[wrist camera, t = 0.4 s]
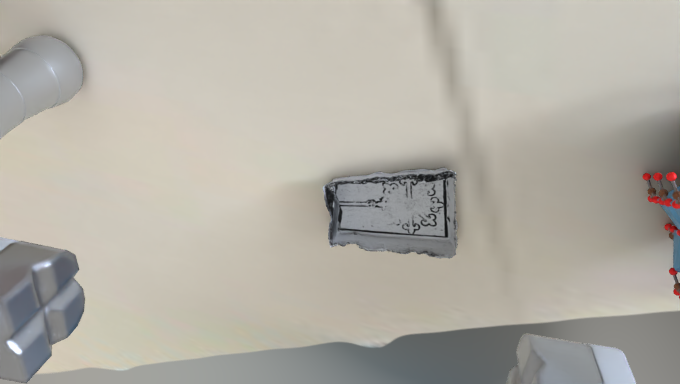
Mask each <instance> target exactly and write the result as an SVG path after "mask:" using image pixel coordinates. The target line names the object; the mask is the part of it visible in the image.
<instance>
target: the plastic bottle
mask: <svg viewBox="0 0 680 384" xmlns="http://www.w3.org/2000/svg"><path fill="white" fill-rule="evenodd" d="M82 82H83V69H82V65H81V62H80V60H79V58H78V56H77V55H76V53H75V52H74V51H73V50H72V49H71V48H70V47H69V46H68V45H67V44H65V43H64V42H62V41H60V40H58V39H56V38H54V37H51V36H46V35H40V36H34V37H29V38H25V39H23V40H21V41H20V42H19V43H17V44H16V45H14V46H13V47H12V48H11V49H10V50H9V51H8V52H7V53H5V54H4V55H2V56H1V57H0V139H1V138H2V137H3V136H4V135H6V134H7V133H8V132H9V131H11V130H12V129H13V128H15V127H16V126H17V125H19V124H20V123H22V122H23V121H24V120H26V119H28V118H30V117H32V116H34V115H36V114H38V113H40V112H42V111H44V110H46V109H49V108H53V107H56V106H59V105H61V104H63V103H66V102H68V101H69V100H71V99H72V98H73V97H74V96H75V94H76V93H77V92H78V91H79V90H80V88H81V86H82Z"/></svg>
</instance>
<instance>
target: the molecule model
mask: <svg viewBox="0 0 680 384" xmlns="http://www.w3.org/2000/svg"><path fill="white" fill-rule="evenodd" d="M650 178H651V175H650V174H649V173H645V174H644V175H643V179H644V180H647V183H648V186H649V189H648V194H649V195H650V196H648V201H649V202H654V203H659V204H660V205H661V207H662V208H663V209H664V211H665V212H666V213H667V215H668V216H669V217H670V219H671V220H672V221H673V223H674V224H675V225H676V226H672V225H671V224H666V225H665V226H664V227H665V229H666V230H669V232H670V233H669V237H670V238H671V239H673V241H674V252H673V268H671V269H670V270H669V273H670V274H671V275H673V277H674V280H675V283H676V284H675V285H674V288H675V289H674V291H673V292H674V294H675V295H680V283H678V280H677V277H676V274H677V273H678V272H680V186H679V187H677V186H676V183H675V180H676V178H677V175H676V174H675V173H674V172H670V173H668V174H667V175H666V178H667V180H669V181H671V182H672V185H673V188H674V190H672V191H670V192H669V193H668V191H667V190H665V189H663V186H662V183H661V179H662V174H661V173H655V174H654V175H653V178H654V180H656V181H658V184H659V187H660V191H659V193H658V194H659V196H660V197H658V196H656V195H655V194H656V190H655V189H654V188H652V186H651V183H650V180H649V179H650ZM679 298H680V296H679Z"/></svg>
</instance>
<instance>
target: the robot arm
mask: <svg viewBox="0 0 680 384" xmlns="http://www.w3.org/2000/svg"><path fill="white" fill-rule="evenodd" d="M78 270H79V267H78V263H77V259H76V255H75V254H73V253H71V252H69V251H67V250H63V249H58V248H53V247H48V246H43V245H38V244H34V243H29V242H24V241H16V240H12V239H7V238H2V237H0V379H5V380H10V381H16V382H21V383H27V382H28V381H29V380H30V379H31V378H32V376H33V375H34V374H35V373H36V372H37V371H38V370H39V369H40V368H41V367H42V365H43V364H44V363H45V362H46V361H47V360H48V359H49V358H50V357H51V356H52V345H53V344H55V343H57V342H59V341H61V340H63V339H65V338H68V336H69V335H70V334H71V333H72V332H73V331H74V329H75V328H76V327H77V326H78V323H79V321H80V319H81V316H82V314H83V312H84V304H85V297H84V291H83V288H82V287H81V286H80V284H79V283H78V282H77V281H76V280H75V279H74V276H75V275H76V273H77V272H78ZM516 351H517V358H518V365H517V366H515V367H513V368H512V369H510V372H509V375H508V379H507V382H506V384H636V381H635V379H634V376H633V374H632V371H631V369H630V366H629V364H628V362H627V359H626V357H625V354H624V353H623V352H622V351H621V350H620V349H618V348H612V347H606V346H600V345H594V344H583V343H578V342H572V341H566V340H561V339H555V338H549V337H543V336H537V335H532V334H526V333H524V334H523V336H522V337H521V339H520V341H519V344H518V348H517V350H516Z"/></svg>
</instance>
